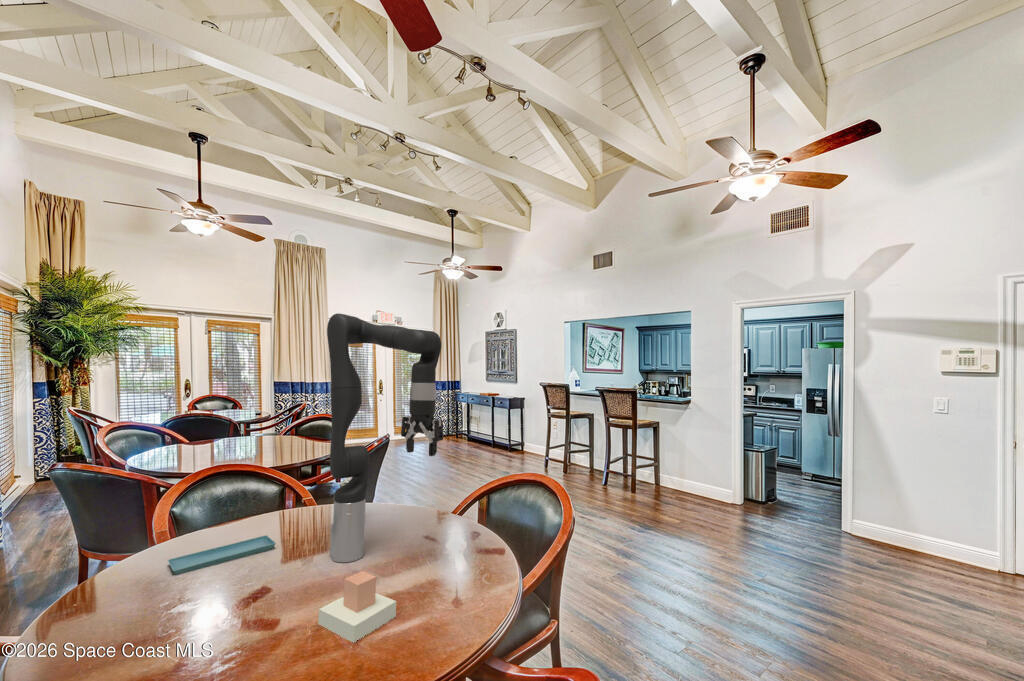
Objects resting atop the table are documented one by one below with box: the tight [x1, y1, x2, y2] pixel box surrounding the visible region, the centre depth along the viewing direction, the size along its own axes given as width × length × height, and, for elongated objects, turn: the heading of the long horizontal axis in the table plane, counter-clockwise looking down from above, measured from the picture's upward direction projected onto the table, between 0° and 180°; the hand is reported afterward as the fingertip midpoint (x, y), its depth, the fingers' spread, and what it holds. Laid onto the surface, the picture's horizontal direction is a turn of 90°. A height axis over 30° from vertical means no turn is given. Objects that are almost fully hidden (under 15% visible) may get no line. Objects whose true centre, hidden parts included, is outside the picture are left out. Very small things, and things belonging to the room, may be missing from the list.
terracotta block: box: [343, 570, 377, 613], centre depth 103 cm, size 5×5×6 cm
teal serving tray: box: [167, 534, 277, 576], centre depth 133 cm, size 26×9×2 cm, turn 136°
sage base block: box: [317, 592, 397, 644], centre depth 102 cm, size 12×12×4 cm
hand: (421, 453), depth 129 cm, fingers open, 8 cm apart
